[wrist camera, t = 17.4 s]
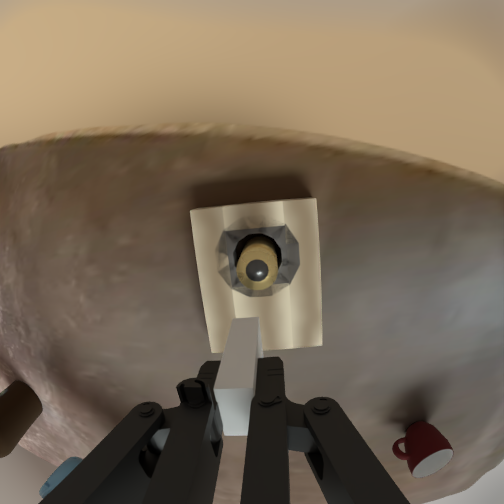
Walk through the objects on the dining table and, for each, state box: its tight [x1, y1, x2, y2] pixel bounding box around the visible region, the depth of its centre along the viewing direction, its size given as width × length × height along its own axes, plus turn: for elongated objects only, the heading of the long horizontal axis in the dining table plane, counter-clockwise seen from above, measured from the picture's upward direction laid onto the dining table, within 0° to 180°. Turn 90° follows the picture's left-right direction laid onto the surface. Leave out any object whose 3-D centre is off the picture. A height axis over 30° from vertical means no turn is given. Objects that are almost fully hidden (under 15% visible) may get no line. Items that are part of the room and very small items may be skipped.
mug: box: [392, 421, 454, 478], centre depth 38 cm, size 11×8×10 cm
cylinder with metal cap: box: [236, 236, 278, 290], centre depth 33 cm, size 4×4×8 cm
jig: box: [190, 197, 322, 353], centre depth 36 cm, size 14×18×3 cm
